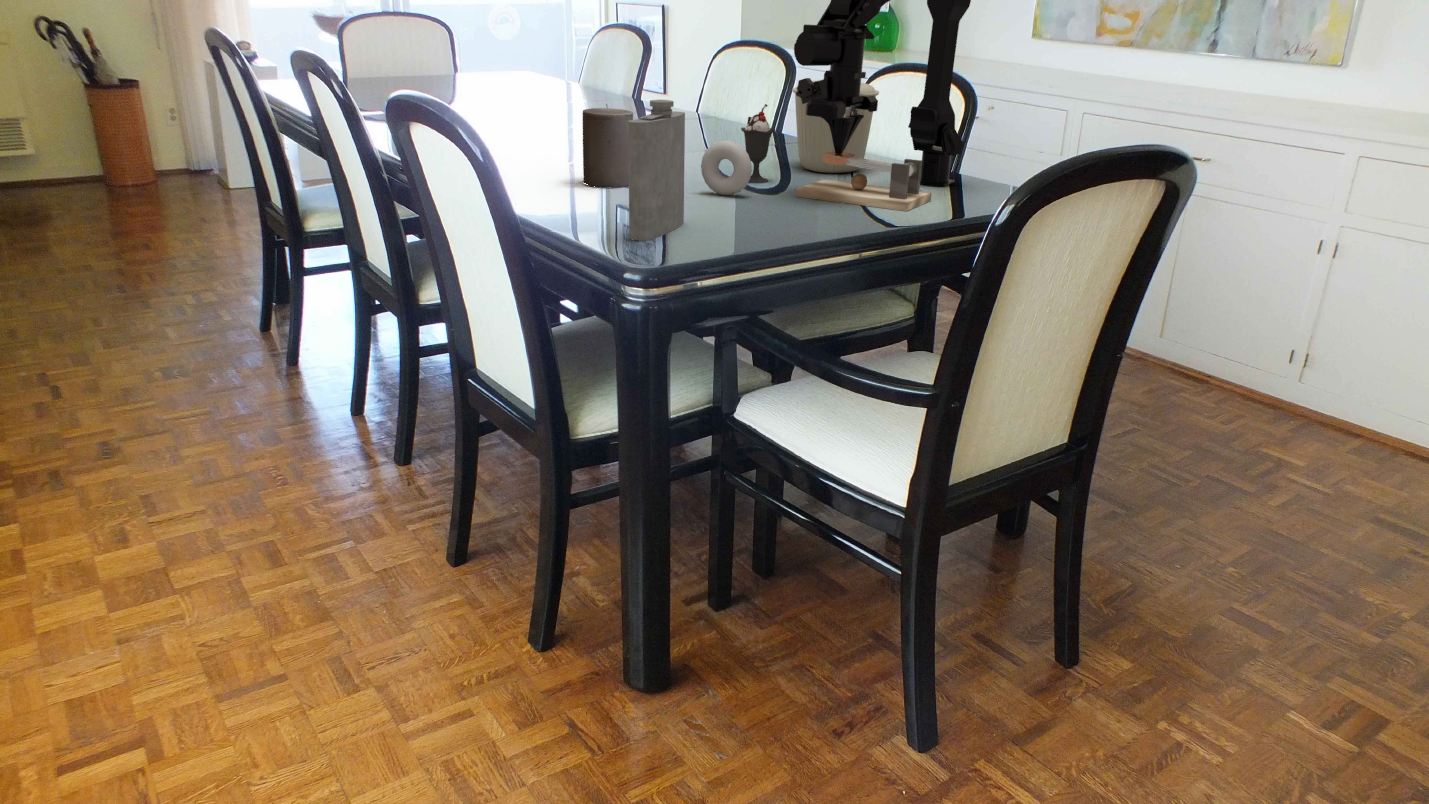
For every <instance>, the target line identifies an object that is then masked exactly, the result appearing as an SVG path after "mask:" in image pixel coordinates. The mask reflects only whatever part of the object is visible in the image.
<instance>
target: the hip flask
mask: <svg viewBox="0 0 1429 804" xmlns="http://www.w3.org/2000/svg"><path fill="white" fill-rule="evenodd" d="M674 103H675V101H674V100H671V99H670V100H669V99H652V100H651V99H650V100H649V107H651V108H652V109H650V114H649V113H648V114H647V115H646V114H645V115H643V116H640V117H638V118H637V119H636V118H635V119H633V120H629V121H628V136H629V186H628V216H629V217H628V225H629V226H628V227H629V228H628V229H629V231H628V233H629V234H628V235H629V236H628V237H629V238H630V239H633V240H632V241H634V240H638V241H637V242H645V241H644V240H646V241H649V240H652V239H656V238H659V237H661V236H664V235H667V234H669V233H671V232H672V231H675V230H677V229H678V228H680V227H681V226H682V225H684V223H685V219H684V217H685V153H686V152H685V148H686V147H685V146H686V144H685V139H686V134H685V133H686V130H685V129H686V127H685V126H686V112H684V111H674V110H673V107H674ZM630 239H629V240H630Z"/></svg>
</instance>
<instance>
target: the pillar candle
mask: <svg viewBox="0 0 1429 804" xmlns="http://www.w3.org/2000/svg"><path fill="white" fill-rule="evenodd" d="M605 106H606V107H604V108H603V107H598V108H597V107H596V108H595V107H592V108H586V109H583V110H582V162H583V163H582V164H583V165H582V166H583V168H582V170H583V171H582V173H583V181H582V183H583V182H584V183H586V184H588V185H591V186H595V188H600V187H611V188H610V189H615V188H616V189H617V188H618V189H619V188H626V187H629V136H628V121H629V120H634V111H631V110H627V109H622V108H611V107H610V108H609V106H608V103H606V104H605ZM591 186H590V187H591Z"/></svg>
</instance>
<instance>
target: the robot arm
mask: <svg viewBox="0 0 1429 804" xmlns="http://www.w3.org/2000/svg"><path fill="white" fill-rule="evenodd" d="M890 1H891V0H830V2H829V4H828V6H827V8H826V9H825V10H824V13H823V14H822V15H821V17H820V18H819V21H818V22H817V24H804V25H803V30H802V32H800V34H799V35H798V36H797V38H796V40H795V43H794V45H793V50H794V51H793V52H794V57H795V60H796V61H797V63H798V64H799V66H801V67H804V66H806V67H809V66H811V67H812V66H813V67H814V66H815V67H816V66H817V67H818V66H819V67H820V66H821V67H822V66H824V67H825V66H826V67H827V66H830V68H829V70H825V72H824V73H823V79H819V80H820V81H817V80H814V81H815V82H812V81H813V80H812V79H811V78H809V77H808V78H807V77H806V78H802V79H799V80H798V83H797V86H798V87H797V86H796V87H797V92H796V95H797V96H799V97H800V98H801V101H802V104H805V103H807V102H808V103H807V104H806V115H807V116H816V117H821V118H823V119H824V120H825V121H826V122H827V123H828V124H829V127H830V130H831V135H832V139H833V144H834V149H835V153H836V154H842V153H843V151H844V149H845V147H846V146H847V144H848V142H849V140H850V138H851V136H852V135H853V133H854V131H855V129H856V128H857V126H858V124H859V123H860V121H861V119H862V118H864V115H859V114H857V110H856V109H862V110H868V111H869V112H873V113H874V112H878V105H879V103H878V102H879V100H878V99H877V96H876V97H875V96H874V95H865V94H860V86H861V83H862V79H866V74H867V72H866V71H863V63H864V55H865V54H864V52H865V50H864V49H865V42H866V40H874V39H875V35H874V33H873V32H872V31H871V30H870V29H869V27H868V23H870V22H871V21H872V20H873V19H874V18H875V17H877V16H878V14H879V13H880V11H881V8H882V7H883V6H885V5H886V4H887V3H889V2H890ZM971 3H972V0H926V6H927V8H928V10H929V11H928V12H929V14H930V16H931V19H932V25H931V32H930V33H931V34H930V42H929V49H928V50H929V51H928V57H927V66H926V76H925V83H924V91H923V97H922V99H921V101H920V102H919V104H918V105H917V106H914V105H913V106H912V107H911V108H910V119H909V120H910V121H909V123H908V125H907V126H908V128H909V132H910V133H909V134H910V137H911V141H912V145H913V146H912V147H913V150H914V151H921V152H922V155H921V160H922V167H921V177H920V185H926V186H928V185H929V186H936V187H947V186H949V185H951V184H953V183H955V179H950V174H951V173H950V172H951V163H952V156H953V157H954V156H957V155H961V154H962V151H963V149H964V146H965V143H964V141H963V140H962V138H961V136H960V135H959V133H958V131H957V129H956V114H955V111H954V108H953V106H952V103H951V101H950V100H951V99H950V97H951V89H952V82H953V80H952V79H953V74H954V64H955V57H956V51H957V50H956V49H957V42H958V35H959V28H960V22H961V20H962V19H963V17H964V15H965V14H966V12H967V11H968V10H969V8H970V6H971Z"/></svg>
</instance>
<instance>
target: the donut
mask: <svg viewBox="0 0 1429 804" xmlns="http://www.w3.org/2000/svg"><path fill="white" fill-rule="evenodd" d="M723 160H729V161H730V163H731V164H732V166H733V173H731V175H730V176H725V175H723V174H722V173H721V171H720V163H721V162H722V161H723ZM752 168H753V167H752V161H751V160H750V158H749V155H748V153H747V152H746V148H744V147H743V146H742V145H740V144H739V143H737V142H736V141H732V140H729V139H726V140H718V141H716V142H714V143H711V145H710V146H709V147H708V148H707V149H706V150H705V151H704V153H703V156H702V158H701V164H700V169H701V176H702V178H703V180H704V183H705V184H706V185H707V187H709V189H711V191H713V192H715V193H716V194H719V195H722V196H734V195H735V194H738V193H741V192H742V191H743V190H744V188H745V187H747V186H748V184H749V183H750V182H749V180H750V178H751V175H752V173H753V169H752Z"/></svg>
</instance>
